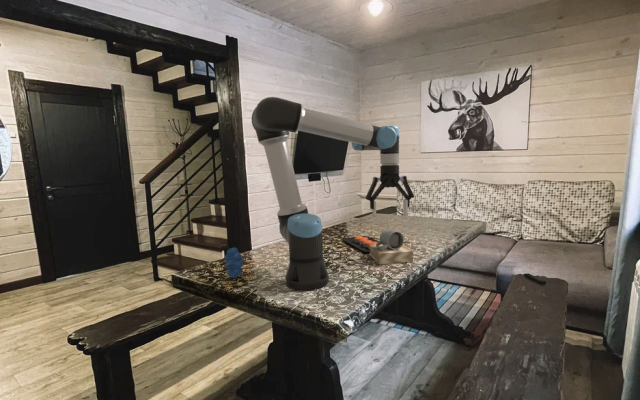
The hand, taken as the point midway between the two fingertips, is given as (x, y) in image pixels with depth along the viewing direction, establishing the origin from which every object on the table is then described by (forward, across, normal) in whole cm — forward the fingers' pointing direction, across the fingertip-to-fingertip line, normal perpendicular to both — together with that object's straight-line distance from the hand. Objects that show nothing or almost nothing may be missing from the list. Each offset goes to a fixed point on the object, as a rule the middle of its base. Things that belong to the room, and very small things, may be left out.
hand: (389, 216), depth 138 cm
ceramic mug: (+14, +1, 0) cm, 14 cm away
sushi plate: (+19, -4, -25) cm, 31 cm away
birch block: (+19, 0, 0) cm, 19 cm away
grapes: (+19, +62, +6) cm, 66 cm away
